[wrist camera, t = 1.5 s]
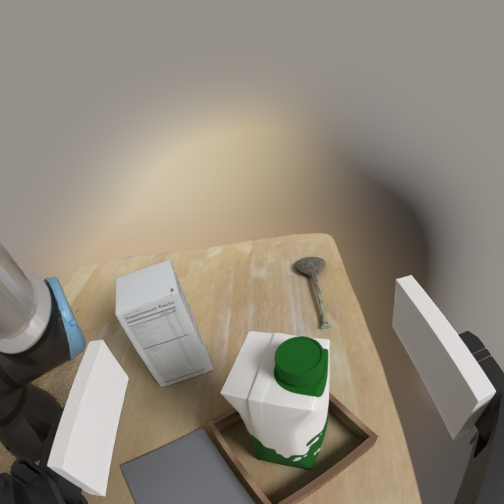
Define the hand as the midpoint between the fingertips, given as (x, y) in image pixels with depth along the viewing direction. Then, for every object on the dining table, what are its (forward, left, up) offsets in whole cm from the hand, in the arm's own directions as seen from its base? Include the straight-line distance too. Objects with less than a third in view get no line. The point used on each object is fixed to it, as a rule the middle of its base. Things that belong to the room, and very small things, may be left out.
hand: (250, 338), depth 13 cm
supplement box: (-29, -2, -30) cm, 42 cm away
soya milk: (-6, +4, -30) cm, 31 cm away
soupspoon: (-29, +27, -31) cm, 50 cm away
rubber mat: (-8, -11, -30) cm, 33 cm away
